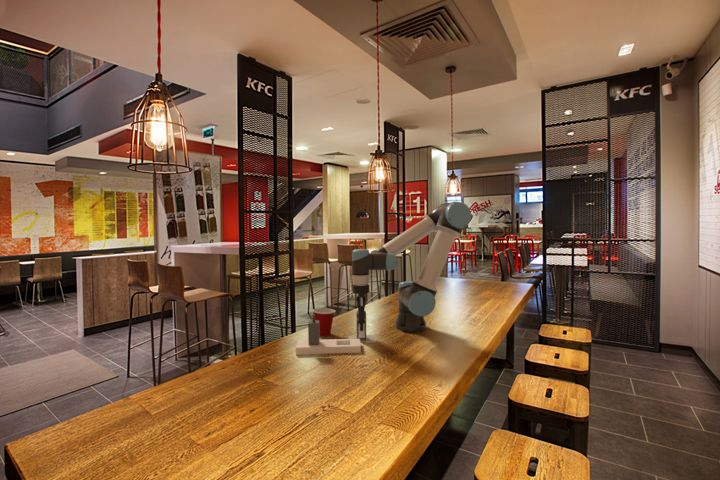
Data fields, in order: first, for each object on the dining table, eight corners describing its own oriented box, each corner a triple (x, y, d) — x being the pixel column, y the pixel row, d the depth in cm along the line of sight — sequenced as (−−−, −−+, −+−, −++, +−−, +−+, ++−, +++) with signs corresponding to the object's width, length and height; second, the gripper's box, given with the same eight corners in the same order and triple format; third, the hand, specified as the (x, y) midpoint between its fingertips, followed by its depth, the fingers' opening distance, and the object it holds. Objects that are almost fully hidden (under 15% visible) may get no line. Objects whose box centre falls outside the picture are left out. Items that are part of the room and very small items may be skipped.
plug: (365, 337, 166) (365, 311, 165) (366, 340, 161) (366, 313, 161) (356, 337, 165) (356, 311, 165) (356, 340, 161) (356, 313, 160)
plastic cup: (340, 334, 170) (340, 309, 170) (322, 340, 163) (321, 314, 162) (326, 329, 178) (326, 305, 178) (308, 334, 171) (307, 309, 170)
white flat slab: (373, 335, 169) (373, 334, 169) (375, 343, 159) (375, 342, 159) (347, 336, 168) (347, 335, 168) (348, 343, 158) (348, 342, 158)
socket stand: (359, 345, 156) (359, 311, 155) (360, 353, 147) (360, 316, 146) (298, 347, 155) (297, 312, 154) (295, 355, 146) (295, 318, 145)
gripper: (352, 280, 170) (352, 330, 172) (352, 287, 153) (353, 342, 154) (368, 280, 171) (368, 329, 172) (370, 287, 153) (371, 342, 155)
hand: (361, 335), depth 163 cm, fingers closed on plug, 4 cm apart
